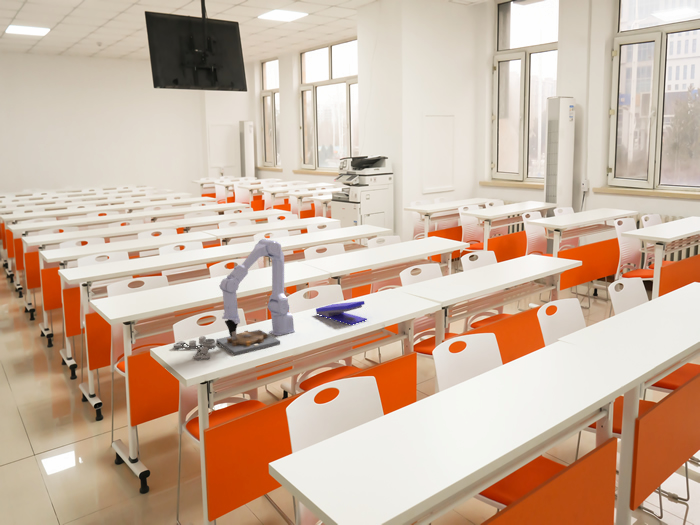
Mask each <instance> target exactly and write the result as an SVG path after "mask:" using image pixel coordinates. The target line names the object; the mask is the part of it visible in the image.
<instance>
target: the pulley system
mask: <svg viewBox="0 0 700 525" xmlns="http://www.w3.org/2000/svg"><path fill="white" fill-rule="evenodd" d="M184 344H186V345H187V346H186V345H184ZM181 345H183V346H181ZM188 346H189V347H188ZM198 346H203V347H198ZM216 346H218V344H217V343H216V339H214V338H207V337H206V336H205V335H204V336H199V338H198V344H197V340H189V343H186V342H185V341H183V340H182V341H181V340H179V341H177V342H176V343H175V344H174V343H173V349H181V348H182V349H183V348H185V349H183V350H195V349H199V350H198V351H196V353H195V354H194V356H193V358H192V359H193V361H206V360H210V359H211V357H210V355H208V354H207V353H209V351H210V350H209V349H211V350H213V349H215V348H214V347H216ZM196 347H197V348H196ZM212 348H213V349H212ZM199 351H200V352H199ZM198 352H199V353H200V355H198V354H199V353H198ZM201 354H203V355H202V356H201ZM196 355H197V356H196Z"/></svg>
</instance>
